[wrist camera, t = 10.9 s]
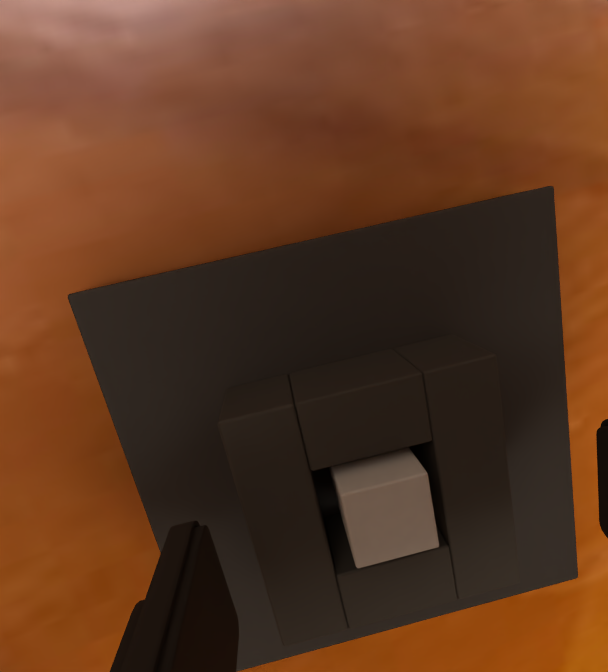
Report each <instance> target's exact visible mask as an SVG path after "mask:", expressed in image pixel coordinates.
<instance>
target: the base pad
mask: <svg viewBox="0 0 608 672" xmlns="http://www.w3.org/2000/svg"><path fill="white" fill-rule="evenodd" d="M68 299H69V302H70V305H71V308H72V310H73V313H74V316H75V319H76V321H77V324H78V327H79V330H80V332H81V335H82V338H83V341H84V343H85V346H86V349H87V352H88V354H89V357H90V360H91V363H92V365H93V368H94V371H95V374H96V376H97V379H98V382H99V385H100V387H101V390H102V393H103V396H104V398H105V401H106V404H107V407H108V409H109V412H110V415H111V418H112V420H113V423H114V426H115V429H116V431H117V434H118V437H119V440H120V442H121V445H122V448H123V451H124V453H125V456H126V459H127V462H128V464H129V467H130V470H131V473H132V475H133V478H134V481H135V484H136V486H137V489H138V492H139V495H140V497H141V500H142V503H143V506H144V508H145V511H146V514H147V517H148V519H149V522H150V525H151V528H152V530H153V533H154V536H155V539H156V541H157V544H158V547H159V550H160V552H162V549H163V546H164V543H165V541H166V538H167V535H168V532H169V530H170V528H171V527H172V526H175V525H179V524H183V523H187V522H191V521H195V520H196V521H198V522H199V524H200V526H203V525H207V526H208V528H209V531H210V534H211V537H212V540H213V543H214V546H215V549H216V552H217V555H218V558H219V561H220V564H221V567H222V570H223V573H224V576H225V579H226V582H227V585H228V588H229V591H230V595H231V598H232V601H233V604H234V607H235V610H236V613H237V616H238V622H239V642H238V656H237V669H236V672H237V671H240V670H244V669H247V668H251V667H255V666H258V665H262V664H266V663H269V662H273V661H277V660H280V659H284V658H288V657H291V656H295V655H298V654H302V653H306V652H309V651H313V650H317V649H320V648H324V647H328V646H331V645H335V644H339V643H342V642H346V641H349V640H353V639H357V638H360V637H364V636H368V635H371V634H375V633H379V632H382V631H386V630H390V629H393V628H397V627H400V626H404V625H408V624H411V623H415V622H419V621H422V620H426V619H430V618H433V617H437V616H441V615H444V614H448V613H452V612H455V611H459V610H462V609H466V608H470V607H473V606H477V605H481V604H484V603H488V602H492V601H495V600H499V599H503V598H506V597H510V596H513V595H517V594H521V593H524V592H528V591H532V590H535V589H539V588H543V587H546V586H550V585H554V584H557V583H561V582H564V581H568V580H572V579H575V578H577V577H578V568H577V552H576V536H575V521H574V505H573V489H572V473H571V457H570V441H569V425H568V409H567V393H566V377H565V361H564V345H563V329H562V313H561V298H560V282H559V266H558V250H557V234H556V218H555V202H554V188H553V186H548V187H543V188H538V189H534V190H529V191H525V192H520V193H515V194H511V195H507V196H502V197H498V198H493V199H489V200H484V201H480V202H475V203H471V204H467V205H462V206H458V207H453V208H449V209H444V210H440V211H436V212H431V213H427V214H422V215H418V216H413V217H409V218H404V219H400V220H396V221H391V222H387V223H382V224H378V225H373V226H369V227H364V228H360V229H356V230H351V231H347V232H342V233H338V234H333V235H329V236H324V237H320V238H316V239H311V240H307V241H302V242H298V243H293V244H289V245H284V246H280V247H276V248H271V249H267V250H262V251H258V252H253V253H249V254H244V255H240V256H236V257H231V258H227V259H222V260H218V261H213V262H209V263H204V264H200V265H196V266H191V267H187V268H182V269H178V270H173V271H169V272H164V273H160V274H156V275H151V276H147V277H142V278H138V279H133V280H129V281H124V282H120V283H116V284H111V285H107V286H102V287H98V288H93V289H89V290H85V291H81V292H76V293H72V294H69V295H68ZM450 334H452V335H455V336H457V337H459V338H461V339H463V340H465V341H468V342H470V343H472V344H474V345H476V346H478V347H481V348H483V349H485V350H487V351H489V352H491V353H494V354H495V355H496V357H497V366H498V375H499V385H500V394H501V403H502V413H503V422H504V432H505V441H506V450H507V460H508V469H509V479H510V488H511V498H512V507H513V516H514V526H515V535H516V545H517V554H518V564H519V573H520V583H517V584H514V585H510V586H506V587H503V588H499V589H495V590H492V591H488V592H484V593H481V594H477V595H473V596H470V597H466V598H462V599H458V598H457V600H455V601H452V602H448V603H444V604H441V605H437V606H434V607H430V608H426V609H423V610H419V611H415V612H412V613H408V614H404V615H401V616H397V617H393V618H390V619H386V620H382V621H379V622H375V623H371V624H368V625H364V626H360V627H357V628H353V629H350V628H349V627H348V628H347V630H344V631H341V632H337V633H333V634H330V635H326V636H322V637H319V638H315V639H311V640H308V641H304V642H300V643H297V644H293V645H289V646H283V644H282V641H281V638H280V634H279V631H278V627H277V624H276V621H275V617H274V614H273V610H272V607H271V604H270V600H269V597H268V594H267V590H266V587H265V583H264V580H263V577H262V573H261V570H260V567H259V563H258V560H257V556H256V553H255V550H254V546H253V543H252V539H251V536H250V533H249V529H248V526H247V523H246V519H245V516H244V512H243V509H242V506H241V502H240V499H239V496H238V492H237V489H236V485H235V482H234V479H233V475H232V472H231V468H230V465H229V462H228V458H227V455H226V452H225V448H224V445H223V441H222V438H221V435H220V431H219V428H218V420H219V416H220V412H221V408H222V405H223V401H224V397H225V394H226V390H227V389H228V388H231V387H235V386H239V385H243V384H248V383H252V382H256V381H260V380H264V379H268V378H272V377H277V376H281V375H285V374H287V375H289V374H290V373H292V372H297V371H301V370H305V369H309V368H313V367H317V366H321V365H326V364H330V363H334V362H338V361H342V360H346V359H350V358H355V357H359V356H363V355H367V354H371V353H375V352H380V351H384V350H388V349H394V348H396V347H400V346H405V345H409V344H413V343H417V342H421V341H425V340H429V339H434V338H438V337H442V336H446V335H450ZM312 473H313V477H314V481H315V485H316V490H317V494H318V498H319V502H320V506H321V510H322V514H323V519H324V518H325V517H328V516H332V515H336V514H340V513H341V517H342V520H343V524H344V527H345V531H346V534H347V538H348V541H349V545H350V548H351V552H352V555H353V559H354V562H355V566H356V567H357V568H362V567H366V566H369V565H373V564H377V563H381V562H384V561H388V560H392V559H396V558H400V557H403V556H407V555H411V554H415V553H418V552H422V551H426V550H430V549H433V548H437V547H439V540H438V534H437V528H436V522H435V516H434V509H433V503H432V497H431V491H430V485H429V478H428V473H427V472H426V470H425V469H424V468H423V466H422V465H421V464H420V462H419V461H418V459H417V458H416V457H415V455H414V454H413V452H412V451H411V450H410V447H406V448H402V449H398V450H394V451H390V452H386V453H382V454H378V455H374V456H370V457H367V458H363V459H359V460H355V461H351V462H347V463H343V464H339V465H335V466H331V467H327V468H323V469H319V470H315V471H312Z"/></svg>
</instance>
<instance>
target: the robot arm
mask: <svg viewBox="0 0 608 672" xmlns="http://www.w3.org/2000/svg"><path fill="white" fill-rule="evenodd" d="M596 435H597V464H598V494H599V522H600V526H601V529H602V531H603V532H604V534H605V535H606V537H607V538H608V419H606V420H604V421H603V422H602V424H601V428H599V429H598V430H597V434H596ZM238 642H239V622H238V616H237V613H236V610H235V607H234V604H233V601H232V598H231V595H230V591H229V588H228V585H227V582H226V579H225V576H224V573H223V570H222V567H221V564H220V561H219V558H218V555H217V552H216V549H215V546H214V543H213V540H212V537H211V534H210V531H209V528H208V526H207V525H203V526H200V524H199V522H198V521H196V520H195V521H191V522H187V523H183V524H179V525H175V526H172V527H171V528H170V530H169V532H168V535H167V538H166V541H165V543H164V546H163V549H162V552H161V555H160V558H159V561H158V564H157V567H156V569H155V572H154V575H153V578H152V581H151V584H150V587H149V590H148V592H147V595H146V598H145V600H141V601H139V602H138V603H137V604H136V605H135V607H134V609H133V611H132V613H131V616H130V619H129V621H128V624H127V627H126V630H125V632H124V635H123V638H122V640H121V643H120V646H119V648H118V651H117V654H116V657H115V659H114V662H113V665H112V667H111V670H110V672H236V669H237V656H238Z"/></svg>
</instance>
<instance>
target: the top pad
mask: <svg viewBox="0 0 608 672" xmlns="http://www.w3.org/2000/svg"><path fill="white" fill-rule="evenodd" d="M218 428H219V431H220V435H221V438H222V441H223V445H224V448H225V452H226V455H227V458H228V462H229V465H230V468H231V472H232V475H233V479H234V482H235V485H236V489H237V492H238V496H239V499H240V502H241V506H242V509H243V512H244V516H245V519H246V523H247V526H248V529H249V533H250V536H251V539H252V543H253V546H254V550H255V553H256V556H257V560H258V563H259V567H260V570H261V573H262V577H263V580H264V583H265V587H266V590H267V594H268V597H269V600H270V604H271V607H272V610H273V614H274V617H275V621H276V624H277V627H278V631H279V634H280V638H281V641H282V644H283V646H289V645H293V644H297V643H300V642H304V641H308V640H311V639H315V638H319V637H322V636H326V635H330V634H333V633H337V632H341V631H344V630H347V628H348V627H349V628H350V629H353V628H357V627H360V626H364V625H368V624H371V623H375V622H379V621H382V620H386V619H390V618H393V617H397V616H401V615H404V614H408V613H412V612H415V611H419V610H423V609H426V608H430V607H434V606H437V605H441V604H444V603H448V602H452V601H455V600H457V598H458V599H462V598H466V597H470V596H473V595H477V594H481V593H484V592H488V591H492V590H495V589H499V588H503V587H506V586H510V585H514V584H517V583H520V573H519V564H518V554H517V545H516V535H515V526H514V516H513V507H512V498H511V488H510V479H509V469H508V460H507V450H506V441H505V432H504V422H503V413H502V403H501V394H500V385H499V375H498V366H497V357H496V355H495V354H494V353H491V352H489V351H487V350H485V349H483V348H481V347H478V346H476V345H474V344H472V343H470V342H468V341H465V340H463V339H461V338H459V337H457V336H455V335H452V334H450V335H446V336H442V337H438V338H434V339H429V340H425V341H421V342H417V343H413V344H409V345H405V346H400V347H396V348H394V349H388V350H384V351H380V352H375V353H371V354H367V355H363V356H359V357H355V358H350V359H346V360H342V361H338V362H334V363H330V364H326V365H321V366H317V367H313V368H309V369H305V370H301V371H297V372H292V373H290V374H289V375H287V374H285V375H281V376H277V377H272V378H268V379H264V380H260V381H256V382H252V383H248V384H243V385H239V386H235V387H231V388H228V389H227V390H226V394H225V397H224V401H223V405H222V408H221V412H220V416H219V420H218ZM406 447H410V450H411V451H412V452H413V454H414V455H415V457H416V458H417V459H418V461H419V462H420V464H421V465H422V466H423V468H424V469H425V470H426V472H427V473H428V478H429V485H430V491H431V497H432V503H433V509H434V516H435V522H436V528H437V534H438V540H439V547H437V548H433V549H430V550H426V551H422V552H418V553H415V554H411V555H407V556H403V557H400V558H396V559H392V560H388V561H384V562H381V563H377V564H373V565H369V566H366V567H362V568H357V567H356V566H355V562H354V559H353V555H352V552H351V548H350V545H349V541H348V538H347V534H346V531H345V527H344V524H343V520H342V517H341V513H340V514H336V515H332V516H328V517H325V518H324V519H323V514H322V510H321V506H320V502H319V498H318V494H317V490H316V485H315V481H314V477H313V473H312V471H315V470H319V469H323V468H327V467H331V466H335V465H339V464H343V463H347V462H351V461H355V460H359V459H363V458H367V457H370V456H374V455H378V454H382V453H386V452H390V451H394V450H398V449H402V448H406Z"/></svg>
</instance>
